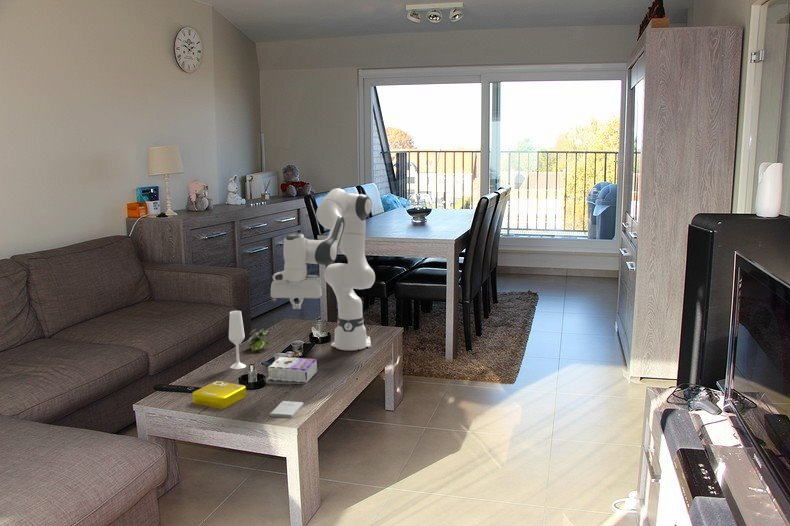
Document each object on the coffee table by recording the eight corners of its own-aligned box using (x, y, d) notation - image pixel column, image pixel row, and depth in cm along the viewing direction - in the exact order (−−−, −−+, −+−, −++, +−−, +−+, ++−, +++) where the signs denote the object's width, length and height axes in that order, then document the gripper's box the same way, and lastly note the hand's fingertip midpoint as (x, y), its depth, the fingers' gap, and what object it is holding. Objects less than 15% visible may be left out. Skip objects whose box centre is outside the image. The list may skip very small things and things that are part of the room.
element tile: (190, 404, 257) (189, 391, 256) (216, 391, 271) (216, 379, 270) (223, 410, 251) (222, 397, 250) (248, 396, 264) (248, 384, 264)
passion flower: (254, 358, 327) (256, 334, 332) (275, 356, 324) (277, 331, 329) (242, 351, 317) (244, 326, 322) (263, 348, 314) (265, 323, 319)
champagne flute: (243, 363, 303) (240, 309, 299) (248, 367, 297) (245, 312, 293) (228, 365, 300) (225, 311, 295) (233, 370, 294) (230, 314, 290)
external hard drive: (269, 417, 244) (282, 404, 256) (292, 419, 242) (303, 406, 254) (269, 413, 244) (282, 400, 256) (291, 414, 242) (303, 401, 254)
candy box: (317, 372, 289) (279, 369, 292) (317, 358, 288) (279, 356, 291) (306, 383, 276) (267, 380, 279) (306, 369, 275) (267, 366, 278)
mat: (274, 370, 293) (274, 369, 292) (313, 371, 290) (313, 371, 290) (262, 383, 277) (262, 382, 277) (304, 384, 275) (304, 384, 275)
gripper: (323, 273, 278) (324, 307, 280) (273, 272, 280) (274, 306, 282) (319, 276, 271) (320, 311, 274) (268, 275, 274) (270, 310, 276)
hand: (296, 308), depth 278 cm, fingers closed
